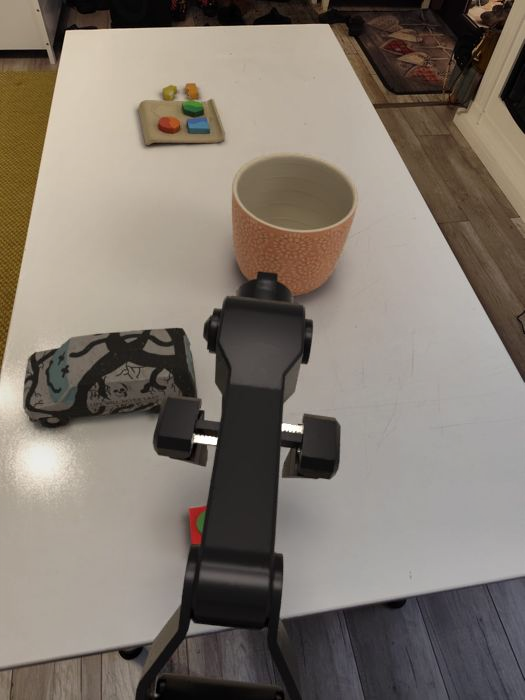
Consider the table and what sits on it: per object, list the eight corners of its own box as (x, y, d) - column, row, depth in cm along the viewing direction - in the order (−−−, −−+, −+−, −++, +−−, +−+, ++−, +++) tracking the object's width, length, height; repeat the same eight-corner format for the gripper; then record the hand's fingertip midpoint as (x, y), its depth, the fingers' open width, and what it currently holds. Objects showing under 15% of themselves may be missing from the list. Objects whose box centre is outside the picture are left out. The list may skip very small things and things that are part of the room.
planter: (214, 246, 103) (215, 161, 88) (309, 226, 108) (325, 144, 93) (251, 324, 92) (259, 243, 77) (354, 298, 98) (381, 218, 82)
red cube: (229, 549, 69) (230, 538, 65) (192, 555, 68) (191, 544, 64) (224, 514, 72) (225, 501, 68) (190, 519, 71) (188, 506, 67)
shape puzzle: (226, 143, 124) (226, 129, 121) (145, 148, 120) (144, 135, 117) (207, 88, 138) (207, 75, 135) (135, 91, 134) (133, 78, 132)
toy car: (36, 372, 83) (17, 333, 75) (191, 356, 87) (189, 318, 79) (31, 431, 77) (10, 397, 69) (199, 411, 81) (197, 376, 73)
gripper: (354, 344, 52) (326, 418, 65) (171, 319, 53) (179, 397, 65) (353, 444, 46) (322, 505, 58) (144, 415, 46) (158, 482, 59)
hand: (244, 468), depth 60 cm, fingers open, 9 cm apart
